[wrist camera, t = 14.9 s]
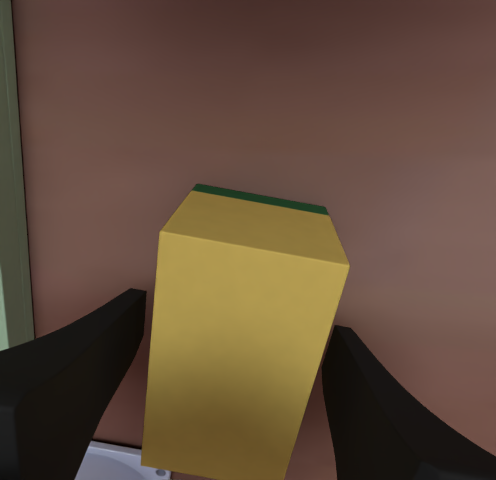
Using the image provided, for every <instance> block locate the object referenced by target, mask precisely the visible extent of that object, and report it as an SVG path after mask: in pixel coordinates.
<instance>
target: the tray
mask: <svg viewBox="0 0 496 480" xmlns="http://www.w3.org/2000/svg"><path fill="white" fill-rule="evenodd" d="M31 340H34V326H33V311H32V297H31V283H30V268H29V254H28V240H27V225H26V211H25V197H24V182H23V168H22V154H21V140H20V125H19V111H18V97H17V82H16V68H15V54H14V39H13V25H12V11H11V0H0V351H1V350H4V349H8V348H11V347H14V346H17V345H20V344H23V343H26V342H29V341H31Z"/></svg>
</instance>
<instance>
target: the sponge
mask: <svg viewBox="0 0 496 480" xmlns="http://www.w3.org/2000/svg"><path fill="white" fill-rule="evenodd" d="M349 268H350V265H349V262H348V260H347V257H346V255H345V253H344V250H343V248H342V245H341V243H340V240H339V238H338V236H337V233H336V231H335V228H334V226H333V223H332V221H331V219H330V216H329V214H328V212H327V210H326V208H325V207H322V206H317V205H311V204H306V203H300V202H295V201H289V200H284V199H278V198H273V197H267V196H262V195H256V194H251V193H245V192H240V191H234V190H229V189H224V188H218V187H213V186H207V185H202V184H196V186H195V187H194V188H193V189H192V191H191V192H190V193H189V194H188V196H187V197H186V198H185V199H184V201H183V202H182V203H181V205H180V206H179V207H178V209H177V210H176V211H175V212H174V214H173V215H172V216H171V218H170V219H169V220H168V222H167V223H166V224H165V225H164V227H163V228H162V229H161V231H160V233H159V245H158V257H157V269H156V282H155V294H154V306H153V318H152V330H151V343H150V355H149V367H148V379H147V391H146V404H145V416H144V428H143V440H142V452H141V466H145V467H151V468H157V469H162V470H168V471H173V472H179V473H185V474H190V475H196V476H201V477H207V478H213V479H218V480H284V477H285V474H286V471H287V467H288V464H289V461H290V458H291V455H292V451H293V448H294V445H295V442H296V438H297V435H298V432H299V429H300V426H301V422H302V419H303V416H304V413H305V410H306V406H307V403H308V400H309V397H310V394H311V390H312V387H313V384H314V381H315V377H316V374H317V371H318V368H319V365H320V361H321V358H322V355H323V352H324V349H325V345H326V342H327V339H328V336H329V333H330V329H331V326H332V323H333V320H334V316H335V313H336V310H337V307H338V304H339V300H340V297H341V294H342V291H343V288H344V284H345V281H346V278H347V275H348V271H349Z"/></svg>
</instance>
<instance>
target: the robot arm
mask: <svg viewBox="0 0 496 480" xmlns="http://www.w3.org/2000/svg"><path fill="white" fill-rule="evenodd" d="M146 294H147V291H144V290H138V289H133V288H130V289H129V290H127V291H125V292H124V293H122V294H121V295H119V296H117V297H116V298H114V299H113V300H111V301H110V302H108V303H106V304H105V305H103V306H102V307H100V308H98V309H97V310H95V311H93V312H92V313H90V314H88V315H86V316H84V317H82V318H81V319H79V320H77V321H75V322H73V323H71V324H69V325H67V326H65V327H63V328H61V329H59V330H57V331H54V332H52V333H50V334H47V335H45V336H42V337H40V338H37V339H34V340H31V341H29V342H26V343H23V344H20V345H17V346H14V347H11V348H8V349H4V350H1V351H0V480H170V476H171V471H168V470H162V469H157V468H151V467H145V466H141V452H142V450H140V449H135V448H129V447H123V446H118V445H112V444H107V443H101V442H95V441H91V440H92V437H93V435H94V433H95V431H96V428H97V426H98V424H99V421H100V419H101V417H102V415H103V413H104V411H105V409H106V408H107V406H108V404H109V402H110V400H111V399H112V397H113V395H114V393H115V392H116V390H117V388H118V386H119V385H120V383H121V381H122V379H123V378H124V376H125V374H126V372H127V370H128V369H129V367H130V365H131V363H132V361H133V360H134V358H135V355H136V353H137V350H138V348H139V345H140V343H141V340H142V338H143V335H144V321H145V307H146ZM322 385H323V395H324V400H325V406H326V411H327V416H328V421H329V427H330V432H331V437H332V442H333V447H334V453H335V460H336V470H337V480H496V456H494V455H492V454H491V453H489V452H487V451H486V450H484V449H482V448H481V447H479V446H478V445H476V444H475V443H473V442H472V441H470V440H469V439H467V438H466V437H464V436H462V435H461V434H460V433H458V432H457V431H455V430H454V429H453V428H451V427H450V426H448V425H447V424H446V423H444V422H443V421H442V420H441V419H439V418H438V417H437V416H435V415H434V414H433V413H432V412H430V411H429V410H428V409H427V408H426V407H424V406H423V405H422V404H421V403H420V402H419V401H418V400H416V399H415V398H414V397H413V396H412V395H411V394H410V393H409V392H408V391H407V390H406V389H404V388H403V387H402V386H401V385H400V384H399V383H398V381H397V380H396V379H395V378H394V377H393V376H392V375H391V374H390V373H389V372H388V371H387V370H386V369H385V368H384V367H383V365H382V364H381V363H380V362H379V361H378V360H377V359H376V357H375V356H374V355H373V354H372V353H371V351H370V350H369V349H368V348H367V347H366V345H365V344H364V343H363V342H362V340H361V339H360V338H359V337H358V336H357V334H356V333H355V332H354V331H353V330H352V329H351V328H348V327H343V326H337V325H335V327H334V330H333V333H332V336H331V339H330V342H329V346H328V349H327V352H326V355H325V358H324V361H323V365H322Z"/></svg>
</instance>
